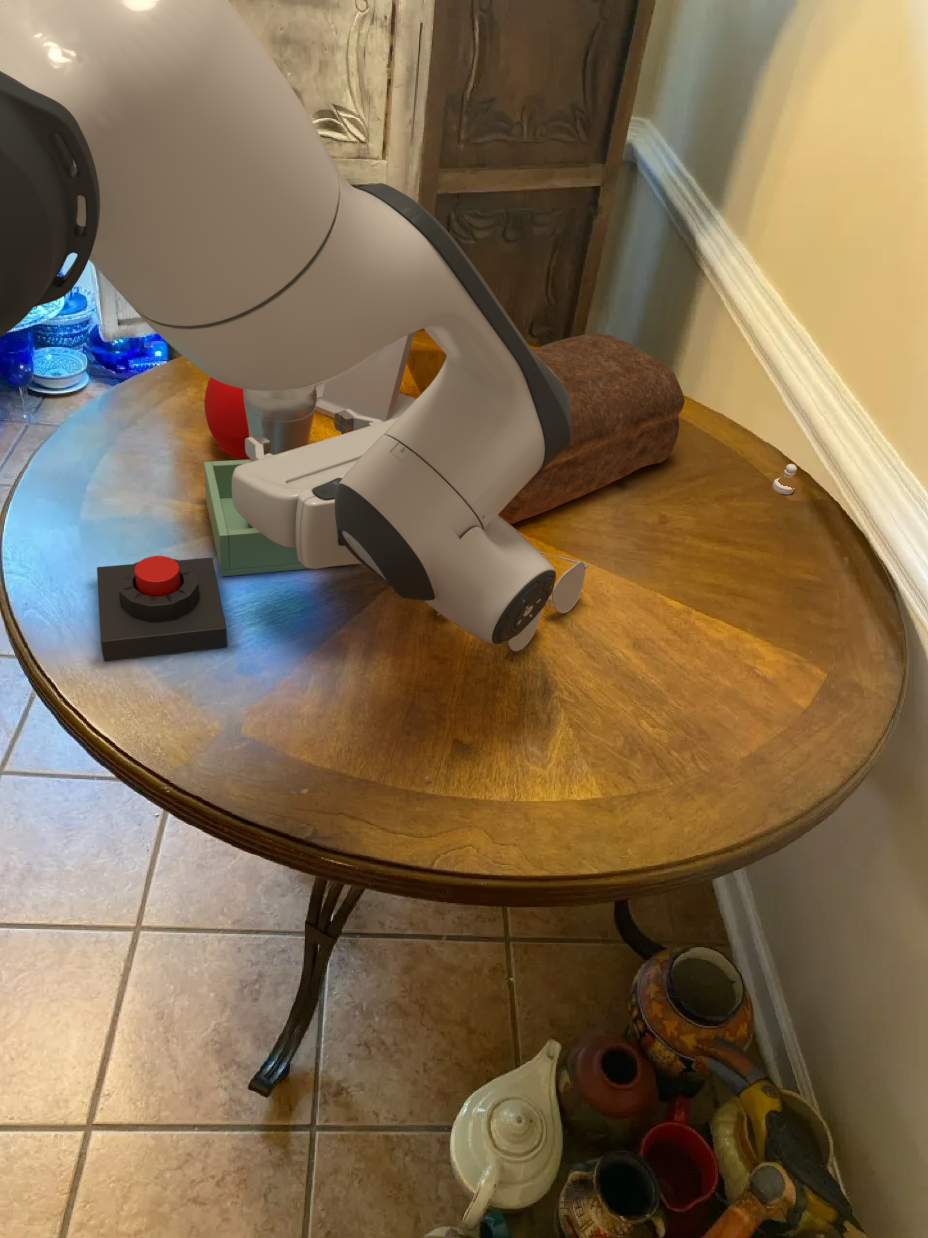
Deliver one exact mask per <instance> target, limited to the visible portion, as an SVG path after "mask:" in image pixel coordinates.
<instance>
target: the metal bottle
mask: <svg viewBox="0 0 928 1238" xmlns="http://www.w3.org/2000/svg"><path fill="white" fill-rule="evenodd" d="M243 397H244V403H245V411H246V417H247V422H248V428H249V437H253V436H256V435H260V434H262V435H263V436H264V438H267V439H268V440H269V441H270V442H271V449H270V450H269V451H270V453H271V454H272V455H276V454H279V453H283V452H286V451H289V450H293V449H296V448H299V447H302V446H306V445H309V444H311V443H310V442H311V433H312V427H313V424H314V423H313V422H314V418H315V412H316V411H315V407H316V402H317V391H316V387H315V386H312V387H308V388H303V389H297V390H291V391H279V392H267V391H254V390H247V389H243ZM250 462H253V460H252V459H250ZM249 524H250V523H249ZM250 525H251V524H250ZM251 526H252V525H251ZM252 527H253V526H252ZM253 528H254V527H253Z"/></svg>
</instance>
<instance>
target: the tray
mask: <svg viewBox="0 0 928 1238" xmlns="http://www.w3.org/2000/svg"><path fill="white" fill-rule="evenodd" d="M247 463H250V460H240V459H235V460H216V461H215V460H214V461H204V462H203V470H204V471H203V473H204V474H203V475H204V489H205V502H206V508H207V512H208V518H209V523H210V527H211V532H212V537H213V542H214V548H215V551H216V556H217V557H216V558H217V562H218V566H219V572H220V576H221V577H230V576H241V575H253V574H262V573H263V574H264V573H275V572H286V571H296V570H307V569H310V568H307V567H305V566H304V565H303V564H302V563H301V562H300V561H299V560H298V557H297V550H296V548H290V547H285V546H282V545H279V544H277V543H275V542H273V541H272V540H270V539H269V538H267V537H266V536H265V535H263V534H262V533H261V532H259V531H258V530H257V529H256V528H253V527H252V526H251V525H250V524H249V523H248V522H247V521H246V520H245V519H244V518H243V517H242V516H241V515H240V514H239V513H238V512H237V511H236V509H235V507H234V505H233V500H232V476H233V472H234V469H235V468H236V467H237V466H240V465H243V464H247ZM351 565H353V564H349V565H348V566H351ZM341 566H344V565H339V566H338V567H341Z"/></svg>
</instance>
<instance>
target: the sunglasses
mask: <svg viewBox="0 0 928 1238" xmlns="http://www.w3.org/2000/svg"><path fill="white" fill-rule="evenodd" d="M540 552H541V554H542V555H546V556H550V557H554V558H557V559H559V560H564V561H567V562H571V563H574V565H572V566H571V567H569V569H567V570H566V571H565V572H564V573H563V574H562V575H561V576H560V577H559V578H558V580H557V581H556V582H555V584H554V589H553V591H552V594H551V597H549V598H548V600H547V604H548V606H549V607H551V606H552V605H553V607H554V609H555V610H556V611H557V612H558V613H560V614H566V613H568V612H570V611H571V610H573V608H574V607H575V605H576V604H577V603H578V600H579V598H580V596H581V593H582V591H583V587H584V582H585V575H586V570H587V569H588V567H589V564H588V563H585V562H583V561H577V560H574V559H570V558H565V557H561V556H557V555H553V554H550V553H545V552H543V551H540ZM551 602H552V605H551ZM541 614H542V610H541V611H540V612H539V613H538V614H537V616H536V617H535V618H534V619H533V620H532V621H531V622H530V623H529V624H528V625H527V626H526V628H525V629H524V630H523V631H522V632H521V633H519V634H518V635H517V636H515V637H513V638H512V639H510V640H509V641H507V644H508V647H509V648H510V650H511V651H513V652H519V651H521V650H523V649H524V648H526V646H528V644H529V643H530V642H531V641H532V638H533V637H534V635H535V632H536V630H537V628H538V625H539V622H540V618H541ZM436 616H437V617H440V616H441V614H440V613H439V612H438V613H436Z"/></svg>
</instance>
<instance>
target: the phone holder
mask: <svg viewBox="0 0 928 1238" xmlns="http://www.w3.org/2000/svg"><path fill="white" fill-rule="evenodd" d="M415 333H416V331H415V332H413V333H411V334H408V335H406V336H404V337H402V338H401V339H399V340H397V341H395V342H393V343H391V344H390V345H388V346H386V347H385V348H383V349H382V350H380V351H379V352H377V353H376V354H374V355H373V356H371V357H370V358H368V359H367V360H365V361H364V362H362V363H361V364H359V365H358V366H356V367H355V368H353V369H352V370H350V371H349V372H347V373H345V374H343V375H342V376H339V377H337V378H335V379H333V380H331V381H328V382H325V383H322V384H319V385H316V386H315V387H316V391H317V402H316V407H315V412H317V413H319V414H322V415H325V416H327V417H329V418H332V419H335V417H334V416H335V413H337V412H341V411H344V410H347V409H350V410H352V411H353V412H354V413H356V414H357V415H359V416H365V417H370V418H375V419H379V420H381V421H383V422H385V421H388V420H391V419H394V418H398V417H400V416H401V415H402V414H403V413H404V412H405V411H406V410H407V409H408V408H409V407H410V406H411V405H412V403H413V402H414V401H415V400H416V399H417V398H415V397H413V396H412V397H411V396H409V395H406V394H404V393H401V392H400V390H401V387H402V383H403V379H404V375H405V371H406V367H407V363H408V359H409V357H410V356H409V355H410V353H411V349H412V344H413V340H414V336H415Z"/></svg>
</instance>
